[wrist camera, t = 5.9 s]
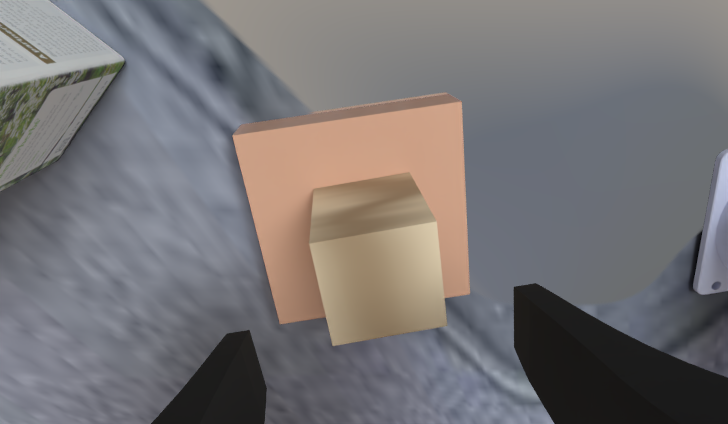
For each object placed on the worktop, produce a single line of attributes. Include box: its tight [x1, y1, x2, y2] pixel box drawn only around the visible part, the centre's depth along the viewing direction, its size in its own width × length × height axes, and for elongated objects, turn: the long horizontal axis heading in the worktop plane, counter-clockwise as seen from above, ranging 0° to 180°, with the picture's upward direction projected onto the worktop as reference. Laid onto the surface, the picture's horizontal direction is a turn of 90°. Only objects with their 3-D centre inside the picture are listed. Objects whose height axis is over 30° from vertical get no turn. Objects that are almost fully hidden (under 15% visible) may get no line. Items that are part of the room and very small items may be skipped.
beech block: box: [309, 172, 447, 346], centre depth 17 cm, size 4×4×5 cm
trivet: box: [232, 92, 470, 324], centre depth 20 cm, size 9×9×2 cm
